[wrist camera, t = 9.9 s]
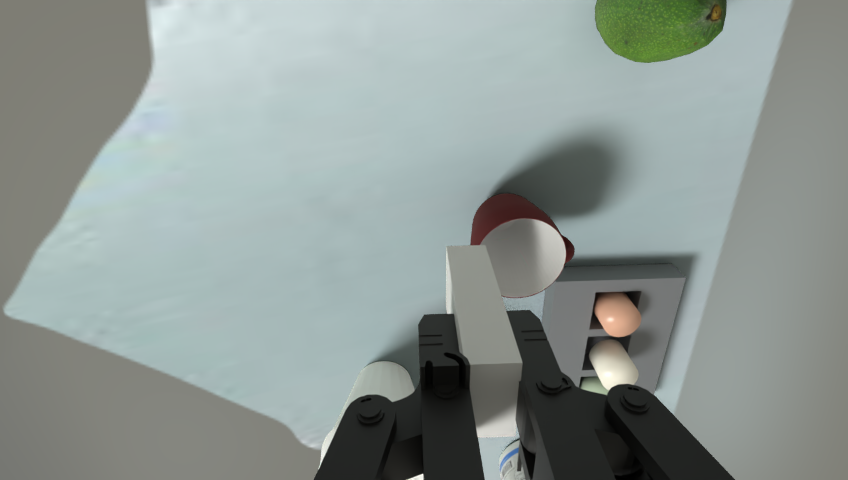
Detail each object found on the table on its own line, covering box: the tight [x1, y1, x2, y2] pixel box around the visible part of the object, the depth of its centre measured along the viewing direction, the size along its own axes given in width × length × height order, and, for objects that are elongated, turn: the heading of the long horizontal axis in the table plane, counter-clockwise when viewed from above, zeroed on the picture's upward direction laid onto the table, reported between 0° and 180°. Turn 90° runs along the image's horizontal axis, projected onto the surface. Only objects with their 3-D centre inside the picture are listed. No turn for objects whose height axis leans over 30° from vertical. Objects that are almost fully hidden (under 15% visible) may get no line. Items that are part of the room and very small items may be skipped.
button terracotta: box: [593, 291, 641, 337], centre depth 52 cm, size 4×4×4 cm
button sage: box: [579, 376, 609, 395], centre depth 58 cm, size 4×4×4 cm
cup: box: [318, 361, 423, 480], centre depth 54 cm, size 12×12×14 cm
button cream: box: [589, 339, 639, 390], centre depth 53 cm, size 4×4×4 cm
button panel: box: [542, 264, 686, 395], centre depth 56 cm, size 20×14×3 cm
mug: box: [470, 193, 575, 298], centre depth 45 cm, size 10×8×10 cm
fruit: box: [595, 0, 726, 63], centre depth 36 cm, size 8×8×12 cm
